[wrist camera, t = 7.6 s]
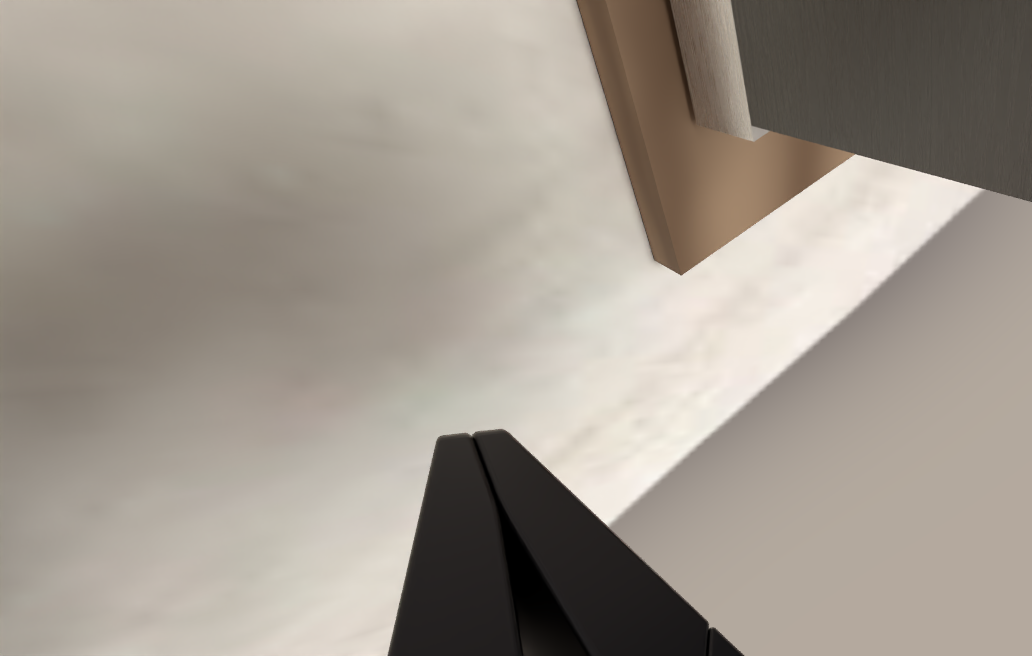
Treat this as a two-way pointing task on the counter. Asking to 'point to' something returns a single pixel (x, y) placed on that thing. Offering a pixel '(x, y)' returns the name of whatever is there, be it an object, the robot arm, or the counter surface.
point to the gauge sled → (872, 80)
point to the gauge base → (687, 140)
